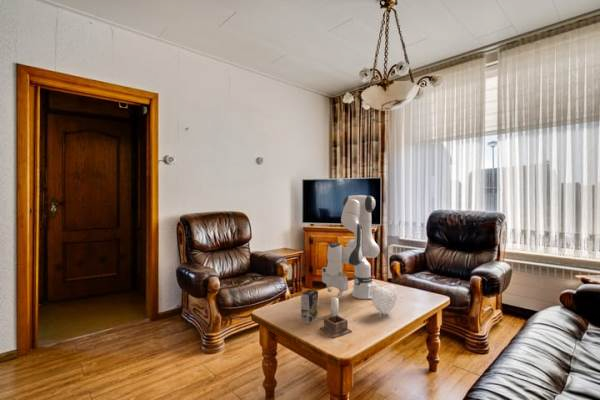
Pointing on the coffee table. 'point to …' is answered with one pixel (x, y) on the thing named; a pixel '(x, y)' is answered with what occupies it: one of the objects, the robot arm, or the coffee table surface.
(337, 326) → the walnut roll holder
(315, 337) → the coffee table surface
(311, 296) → the coffee box
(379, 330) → the coffee table surface
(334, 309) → the paper roll
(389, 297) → the decorative heart
